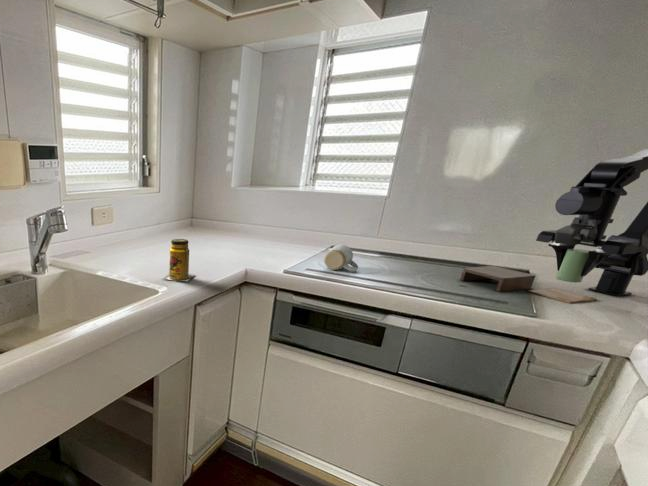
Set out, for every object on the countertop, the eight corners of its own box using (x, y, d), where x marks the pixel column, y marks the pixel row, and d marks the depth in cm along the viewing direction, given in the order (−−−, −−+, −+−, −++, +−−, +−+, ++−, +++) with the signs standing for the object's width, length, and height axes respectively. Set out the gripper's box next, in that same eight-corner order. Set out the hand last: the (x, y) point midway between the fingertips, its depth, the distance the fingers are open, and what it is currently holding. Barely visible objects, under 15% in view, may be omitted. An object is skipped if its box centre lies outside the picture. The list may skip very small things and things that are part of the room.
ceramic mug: (320, 268, 138) (325, 246, 134) (327, 264, 143) (332, 242, 140) (354, 274, 132) (359, 251, 128) (360, 269, 137) (365, 247, 134)
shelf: (489, 277, 128) (493, 265, 126) (530, 288, 117) (535, 275, 116) (459, 280, 125) (463, 267, 124) (499, 291, 114) (504, 278, 113)
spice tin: (564, 276, 112) (575, 248, 109) (585, 281, 108) (598, 252, 105) (550, 278, 111) (562, 249, 108) (572, 283, 107) (585, 253, 104)
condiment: (164, 279, 125) (165, 241, 120) (173, 273, 132) (174, 236, 128) (187, 282, 123) (188, 242, 118) (194, 275, 130) (196, 238, 125)
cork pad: (553, 289, 117) (554, 287, 117) (596, 300, 108) (597, 298, 108) (527, 291, 115) (528, 290, 114) (569, 303, 106) (570, 301, 105)
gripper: (532, 210, 109) (511, 267, 115) (621, 220, 93) (592, 285, 99) (562, 209, 112) (540, 264, 118) (654, 218, 95) (623, 282, 101)
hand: (570, 273), depth 109 cm, fingers closed on spice tin, 5 cm apart
